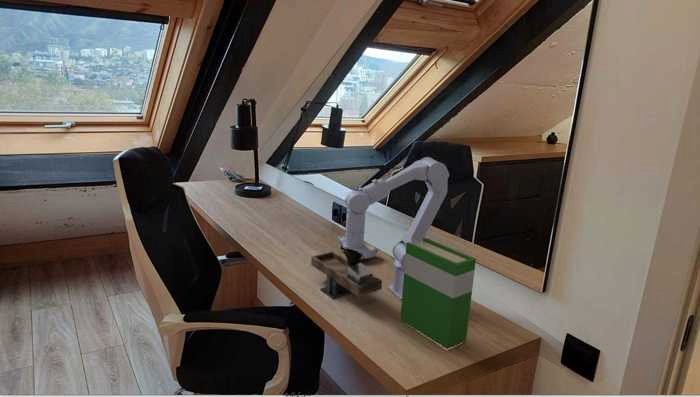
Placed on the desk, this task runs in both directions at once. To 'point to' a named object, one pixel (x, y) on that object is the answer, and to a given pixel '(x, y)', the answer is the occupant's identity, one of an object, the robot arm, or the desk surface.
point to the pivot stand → (334, 289)
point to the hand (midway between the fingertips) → (352, 271)
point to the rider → (359, 274)
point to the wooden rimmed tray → (343, 273)
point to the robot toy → (374, 250)
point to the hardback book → (437, 291)
